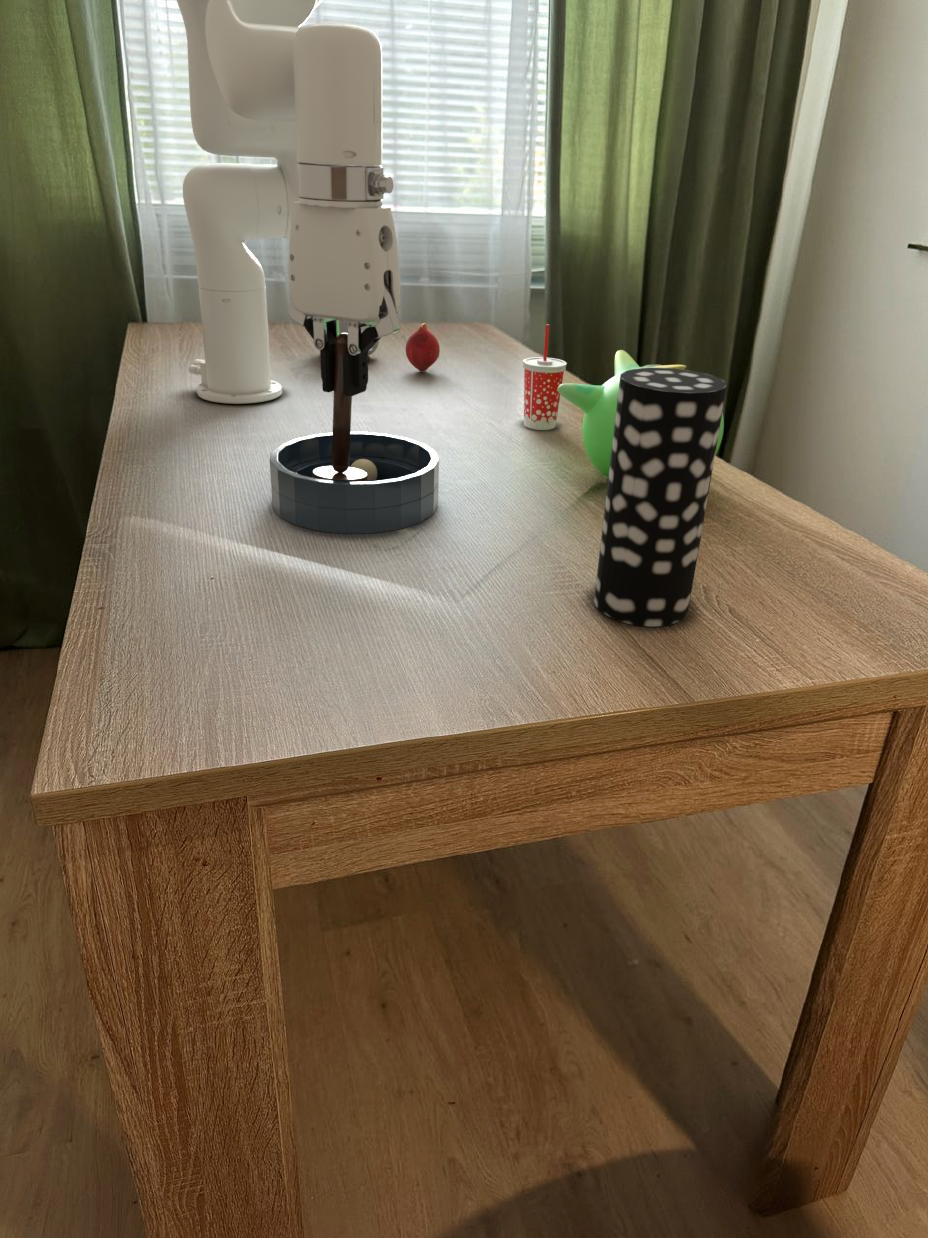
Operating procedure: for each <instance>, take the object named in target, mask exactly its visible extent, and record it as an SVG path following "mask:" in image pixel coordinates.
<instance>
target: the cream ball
mask: <svg viewBox="0 0 928 1238" xmlns="http://www.w3.org/2000/svg"><path fill="white" fill-rule="evenodd" d="M350 467H352V468H357V469H360V470H363V471H365V472H366V473H367V482H373V481H376V479H377V468H376V466H375V465H374V464H373V463H372V462H371V461H369V460H367V459H359V460H356V461H355V462H354V463H353V464H352V465H351V466H350Z"/></svg>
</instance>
